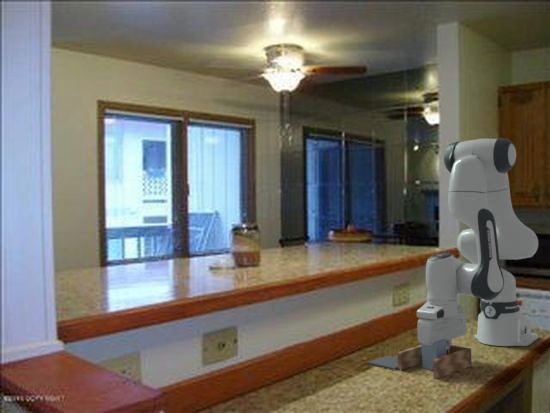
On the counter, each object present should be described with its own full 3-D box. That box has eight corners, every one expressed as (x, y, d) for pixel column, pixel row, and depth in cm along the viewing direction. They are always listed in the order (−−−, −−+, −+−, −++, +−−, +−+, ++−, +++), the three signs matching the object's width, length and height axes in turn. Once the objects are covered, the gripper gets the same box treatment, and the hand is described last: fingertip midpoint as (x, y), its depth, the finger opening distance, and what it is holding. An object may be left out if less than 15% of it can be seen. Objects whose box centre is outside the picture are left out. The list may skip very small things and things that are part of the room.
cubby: (432, 357, 175) (432, 341, 175) (471, 365, 165) (471, 348, 165) (398, 369, 164) (397, 352, 164) (437, 378, 154) (436, 360, 154)
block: (432, 363, 168) (431, 337, 168) (447, 367, 164) (445, 339, 164) (422, 367, 165) (421, 340, 165) (437, 371, 161) (435, 343, 161)
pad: (388, 357, 177) (388, 355, 177) (414, 363, 170) (414, 361, 170) (367, 363, 171) (367, 361, 171) (393, 370, 163) (393, 368, 163)
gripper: (452, 302, 177) (454, 347, 177) (412, 312, 164) (414, 360, 164) (471, 304, 172) (473, 350, 172) (431, 314, 159) (433, 364, 159)
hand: (444, 355), depth 168 cm, fingers closed
